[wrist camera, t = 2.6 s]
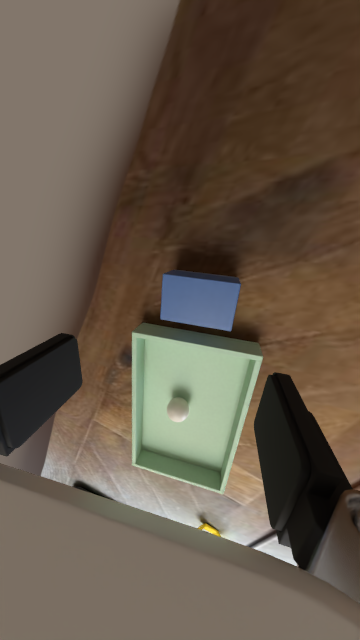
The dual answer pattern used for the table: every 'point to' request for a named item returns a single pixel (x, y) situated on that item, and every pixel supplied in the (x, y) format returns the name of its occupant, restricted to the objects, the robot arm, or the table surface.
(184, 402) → the off-white round ball
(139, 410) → the tray
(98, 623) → the robot arm
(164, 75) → the table surface
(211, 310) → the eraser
